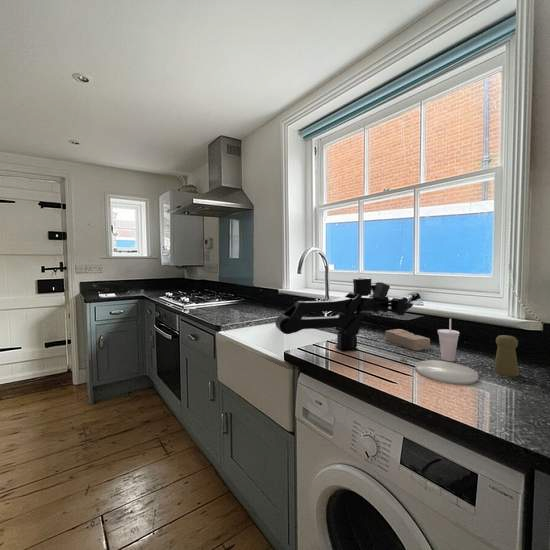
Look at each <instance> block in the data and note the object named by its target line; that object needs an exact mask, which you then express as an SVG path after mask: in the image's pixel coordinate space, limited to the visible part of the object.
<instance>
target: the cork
mask: <svg viewBox="0 0 550 550" xmlns="http://www.w3.org/2000/svg"><path fill="white" fill-rule="evenodd" d="M495 343H496V345H497V349H496V354H495V358H494V364H493V369H492V371H493V372H494V373H496V374H498V375H502V376H507V377H518V376H520V375H519V374H520V373H519V367H518V359H517V358H518V357H517V352H516V348H517V347H518V346H519V340H518V339H517V338H516V336H512V335H505V334H502V335H498V336H497V337H496V338H495Z"/></svg>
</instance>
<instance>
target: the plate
mask: <svg viewBox="0 0 550 550" xmlns="http://www.w3.org/2000/svg"><path fill="white" fill-rule="evenodd" d="M414 367H415V368H414V369H415V372H417V374H419V375H420V376H422V377H424V378H427V379H430V380H433V381H436V382H440V383H446V384H453V385H471V384H475V383H477V382H478V380H479V373H478V372H477V371H476V370H475V369H472V368H471V367H469V366H466V365H463V364H460V363H456V362H452V361H445V360H432V359H431V360H429V359H427V360H420V361H418V362H416V363H415V366H414Z"/></svg>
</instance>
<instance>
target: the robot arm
mask: <svg viewBox="0 0 550 550" xmlns="http://www.w3.org/2000/svg"><path fill="white" fill-rule="evenodd" d="M352 282H353V292H352V291H349V293H347V294H346V295H345V296H342V297H341V296H340V297H338V298H334V299H330V300H311V301H310V300H308V301H307V300H305V301H303V300H298V301H296V302H295V303H294V304H293V305H292V306H291V307H289V308H288V309H287V310H285V311H284V313H282V314H279V315H278V316H277V317H276V319H275V321H274V322H275V324H274V325H275V326H276V328H277V329H278V330H279V331H280V332H282V334H285V335H291V334H295V333H299V331H300V332H301V331H302V330H309V329H310V330H312V329H313V330H314V329H328V328H331V329H333V328H335V330H336V331H337V333H336V334H337V336H336V337H337V338H336V340H337V341H336V343H337V344H336V345H334V346H335V348H337V349H338V350H339V351H342V352H349V351H351V352H352V351H358V350H359V347H358V336H357V335H358V334H359V331H360V330H361V328H362V325H363V318H362V313H375V314H378V313H379V312H381V313H382V312H383V313H388V310H389V308H390V311H391V314H392V315H396V316H401V317H402V316H404V315H405V312H406V311H408V310H409V309H410V308H412V307H413V306H414V304H413V303H410V302H406V300H405V299H404V298H402V297H393V298H392V299H390V298H389V296H388V293H389V290H390V288H391V285H390V284H387V283H384V282H379V281H377V282H375V284H372V278H371V277H358V278H353V280H352ZM322 312H324V313H325V312H327V313H328V312H335V313H336V312H337V314H336V315H332V316H310V317H309V316H308V317H303V316H304V315H305V313H322Z"/></svg>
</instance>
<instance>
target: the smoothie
mask: <svg viewBox="0 0 550 550" xmlns="http://www.w3.org/2000/svg"><path fill="white" fill-rule="evenodd" d="M448 321H449V326H448V328H449V329H448V328H447V329H445V328H444V329H443V328H441V329H437V334H438V340H439V349H440V355H441V361H446V362H454V361H455V358H456V353H457V352H456V351H457V346H458V341H459V336H460V332H459V331H458V330H454V329H452V318H449V320H448Z"/></svg>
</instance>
